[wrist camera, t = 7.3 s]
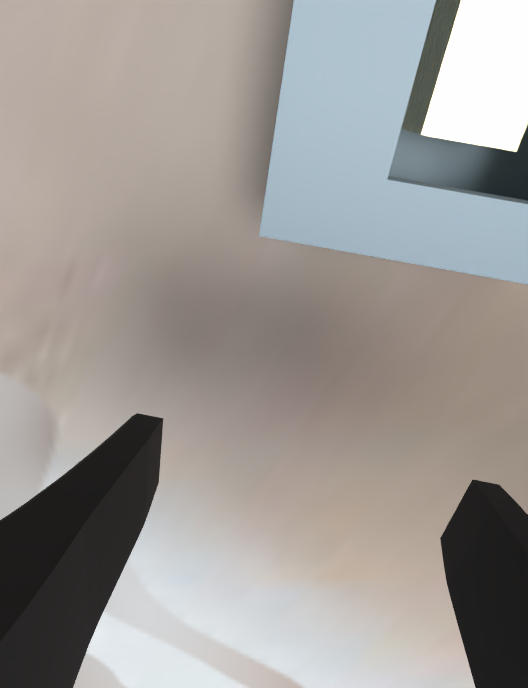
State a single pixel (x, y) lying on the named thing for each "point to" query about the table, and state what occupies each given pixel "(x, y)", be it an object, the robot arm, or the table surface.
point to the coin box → (384, 152)
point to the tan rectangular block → (473, 74)
